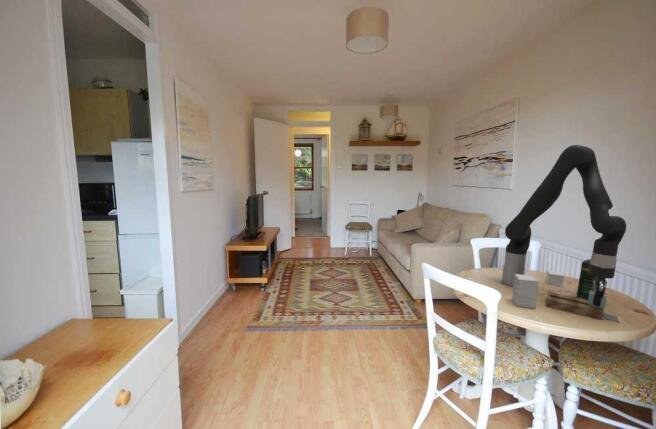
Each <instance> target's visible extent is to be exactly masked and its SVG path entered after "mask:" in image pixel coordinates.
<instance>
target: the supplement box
mask: <svg viewBox="0 0 656 429" xmlns="http://www.w3.org/2000/svg"><path fill="white" fill-rule="evenodd" d="M538 289H539V280H538V279H537V278H535V276H534V275H529V274H524V275H521V274H514V284H513V286H512V295H511V299H512V301H513V303H514V305H515V306H516V307H521V308H529V309H536V308H537V306H536V305H537V300H538V291H539V290H538Z"/></svg>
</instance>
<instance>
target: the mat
mask: <svg viewBox="0 0 656 429" xmlns="http://www.w3.org/2000/svg"><path fill="white" fill-rule="evenodd" d="M603 320H608V321H611V322H616V323H620V320H619V317H618V315H613V314H609V313H605V312H604V315H603Z"/></svg>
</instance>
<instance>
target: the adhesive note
mask: <svg viewBox="0 0 656 429" xmlns="http://www.w3.org/2000/svg"><path fill="white" fill-rule="evenodd" d="M546 271H547V272H546V277H545V278H546V279H545V282H546V284H547V285H549V286H554V287H555V286H556V287H561V288H563V286H564V277H565V275H564V274H563V273H562V272H560V271H552V270H546Z"/></svg>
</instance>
